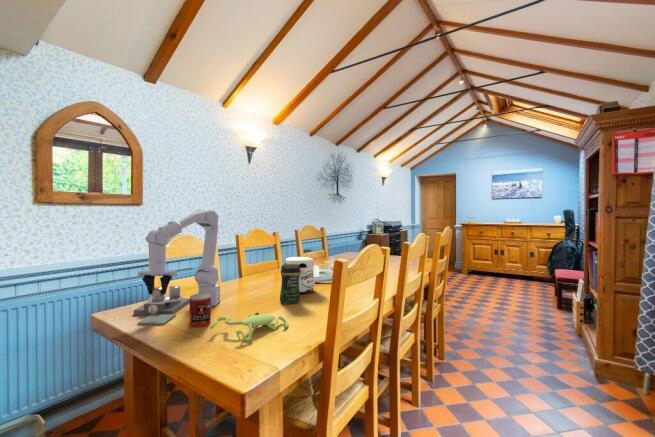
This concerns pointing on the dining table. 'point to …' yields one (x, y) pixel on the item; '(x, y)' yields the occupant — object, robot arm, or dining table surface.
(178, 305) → the scale housing
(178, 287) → the block
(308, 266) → the milk container
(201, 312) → the canned food
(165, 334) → the dining table surface
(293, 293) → the coffee jar
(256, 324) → the figurine
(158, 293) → the steel weight
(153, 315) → the rubber mat
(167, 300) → the scale pan
